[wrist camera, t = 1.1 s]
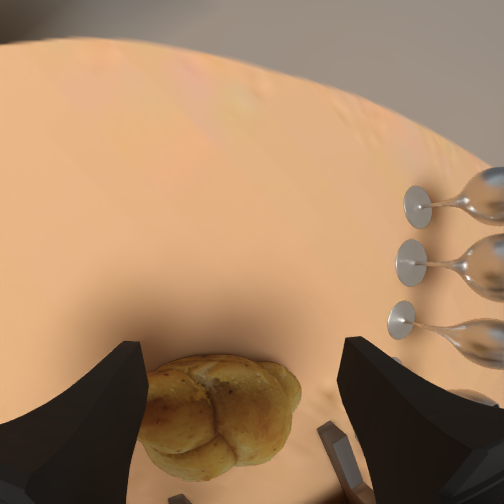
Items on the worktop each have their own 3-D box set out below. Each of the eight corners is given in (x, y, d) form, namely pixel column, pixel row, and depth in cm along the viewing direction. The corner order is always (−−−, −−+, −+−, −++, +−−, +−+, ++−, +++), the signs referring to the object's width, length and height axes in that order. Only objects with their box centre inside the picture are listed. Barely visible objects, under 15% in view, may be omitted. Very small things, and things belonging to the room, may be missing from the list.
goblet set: (400, 176, 28) (514, 148, 15) (436, 193, 30) (540, 177, 17) (343, 449, 27) (425, 520, 14) (383, 442, 29) (465, 498, 16)
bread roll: (290, 337, 25) (344, 370, 17) (286, 437, 25) (328, 487, 17) (124, 345, 21) (111, 392, 14) (139, 452, 21) (141, 517, 14)
